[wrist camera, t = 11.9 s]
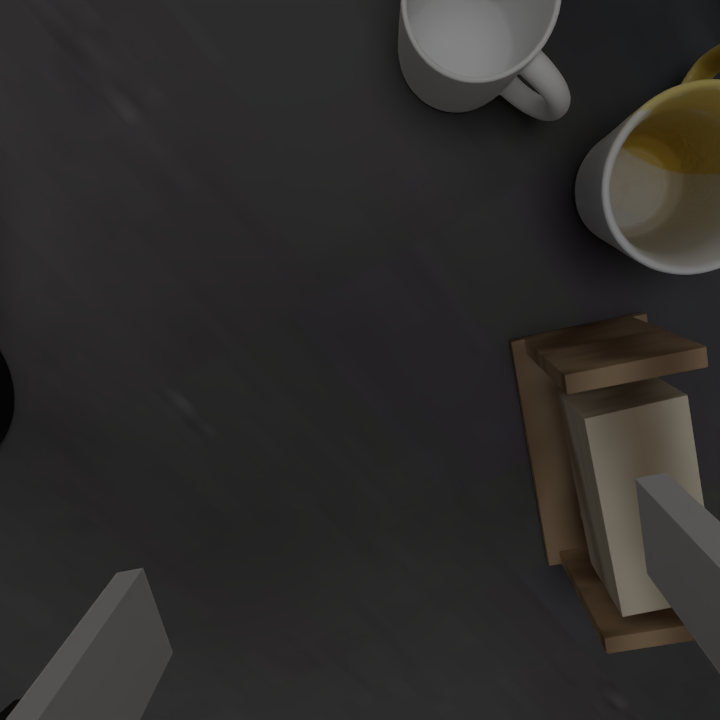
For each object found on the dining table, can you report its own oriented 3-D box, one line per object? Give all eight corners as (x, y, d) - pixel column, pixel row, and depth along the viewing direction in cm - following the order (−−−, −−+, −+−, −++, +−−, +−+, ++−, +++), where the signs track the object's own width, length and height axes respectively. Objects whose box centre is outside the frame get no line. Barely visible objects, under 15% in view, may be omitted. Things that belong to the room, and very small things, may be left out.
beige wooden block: (591, 563, 44) (622, 616, 38) (556, 389, 41) (584, 419, 35) (672, 546, 43) (717, 598, 37) (643, 369, 40) (687, 395, 34)
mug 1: (582, 80, 40) (647, 36, 30) (498, 176, 42) (533, 164, 32) (454, -46, 39) (477, -137, 29) (372, 58, 40) (368, 7, 30)
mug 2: (628, 288, 43) (702, 311, 33) (521, 205, 42) (564, 202, 32) (763, 129, 40) (890, 100, 30) (652, 35, 39) (745, -27, 29)
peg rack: (546, 560, 49) (591, 655, 38) (509, 339, 45) (547, 378, 34) (668, 539, 48) (748, 631, 37) (642, 312, 44) (724, 343, 33)
